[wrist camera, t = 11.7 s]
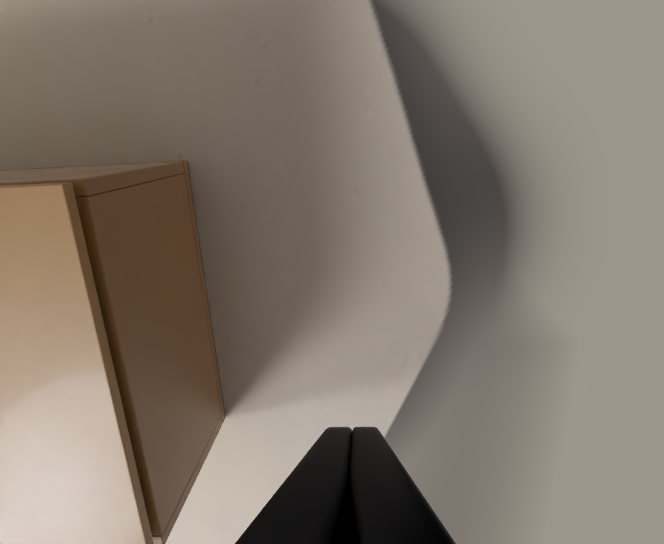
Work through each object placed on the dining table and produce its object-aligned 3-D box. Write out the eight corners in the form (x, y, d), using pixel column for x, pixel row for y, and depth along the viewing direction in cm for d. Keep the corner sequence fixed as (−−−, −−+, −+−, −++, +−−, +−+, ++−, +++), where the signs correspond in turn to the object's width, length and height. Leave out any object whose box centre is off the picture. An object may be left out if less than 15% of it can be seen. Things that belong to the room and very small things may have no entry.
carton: (187, 160, 19) (65, 181, 11) (225, 418, 23) (154, 567, 15) (-111, 176, 20) (-411, 206, 12) (-27, 419, 24) (-214, 559, 16)
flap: (72, 182, 12) (62, 183, 11) (157, 555, 16) (151, 566, 15) (-158, 193, 12) (-175, 195, 12) (-23, 548, 16) (-32, 558, 16)
